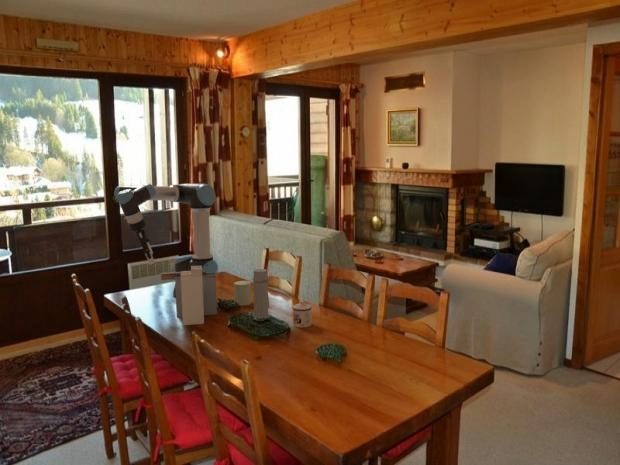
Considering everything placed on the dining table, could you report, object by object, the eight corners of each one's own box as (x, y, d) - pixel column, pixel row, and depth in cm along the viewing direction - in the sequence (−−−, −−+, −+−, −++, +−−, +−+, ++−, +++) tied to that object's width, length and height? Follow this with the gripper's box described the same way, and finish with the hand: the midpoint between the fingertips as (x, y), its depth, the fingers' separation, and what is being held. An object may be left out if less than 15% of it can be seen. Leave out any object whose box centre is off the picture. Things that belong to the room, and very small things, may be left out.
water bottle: (262, 323, 258) (261, 272, 254) (250, 320, 263) (249, 270, 259) (274, 318, 265) (273, 269, 262) (262, 316, 270) (261, 267, 266)
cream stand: (182, 319, 266) (180, 266, 262) (203, 317, 268) (201, 265, 264) (182, 325, 256) (180, 270, 252) (204, 323, 259) (202, 269, 255)
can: (250, 305, 289) (249, 283, 287) (233, 305, 289) (232, 283, 287) (252, 300, 298) (251, 279, 296) (235, 300, 298) (235, 279, 296)
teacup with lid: (288, 324, 257) (288, 300, 255) (304, 320, 262) (304, 297, 260) (303, 330, 247) (303, 306, 245) (319, 327, 252) (319, 303, 251)
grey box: (176, 313, 276) (175, 274, 273) (216, 310, 280) (214, 272, 277) (176, 317, 269) (174, 277, 266) (217, 314, 274) (215, 274, 271)
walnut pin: (161, 278, 270) (161, 272, 270) (206, 276, 274) (206, 270, 274) (161, 280, 267) (161, 274, 267) (206, 277, 271) (206, 271, 271)
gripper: (127, 216, 270) (142, 253, 278) (128, 231, 248) (145, 270, 256) (141, 211, 272) (156, 247, 280) (144, 225, 249) (160, 265, 258)
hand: (151, 258), depth 268 cm, fingers open, 13 cm apart
